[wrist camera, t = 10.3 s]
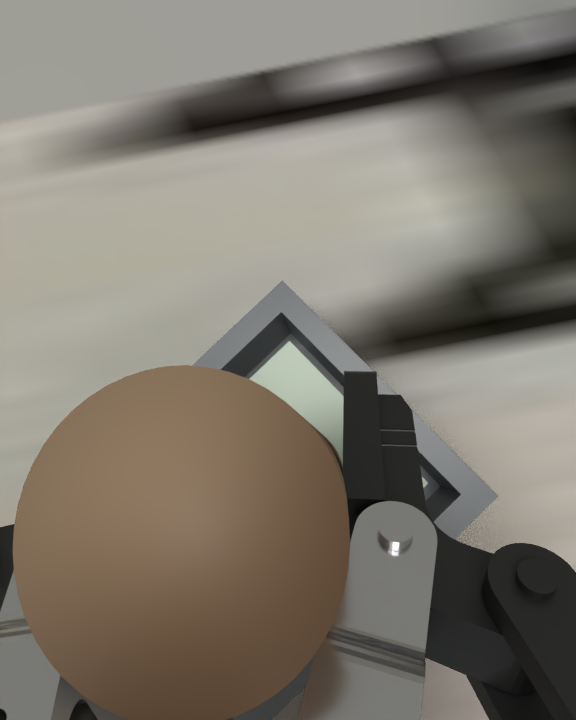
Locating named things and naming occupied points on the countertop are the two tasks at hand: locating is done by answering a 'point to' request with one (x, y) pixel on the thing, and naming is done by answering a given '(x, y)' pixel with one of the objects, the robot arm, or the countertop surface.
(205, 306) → the countertop surface
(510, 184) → the countertop surface
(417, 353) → the countertop surface
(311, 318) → the keypad
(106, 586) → the walnut stylus
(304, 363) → the sage key
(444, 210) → the countertop surface
